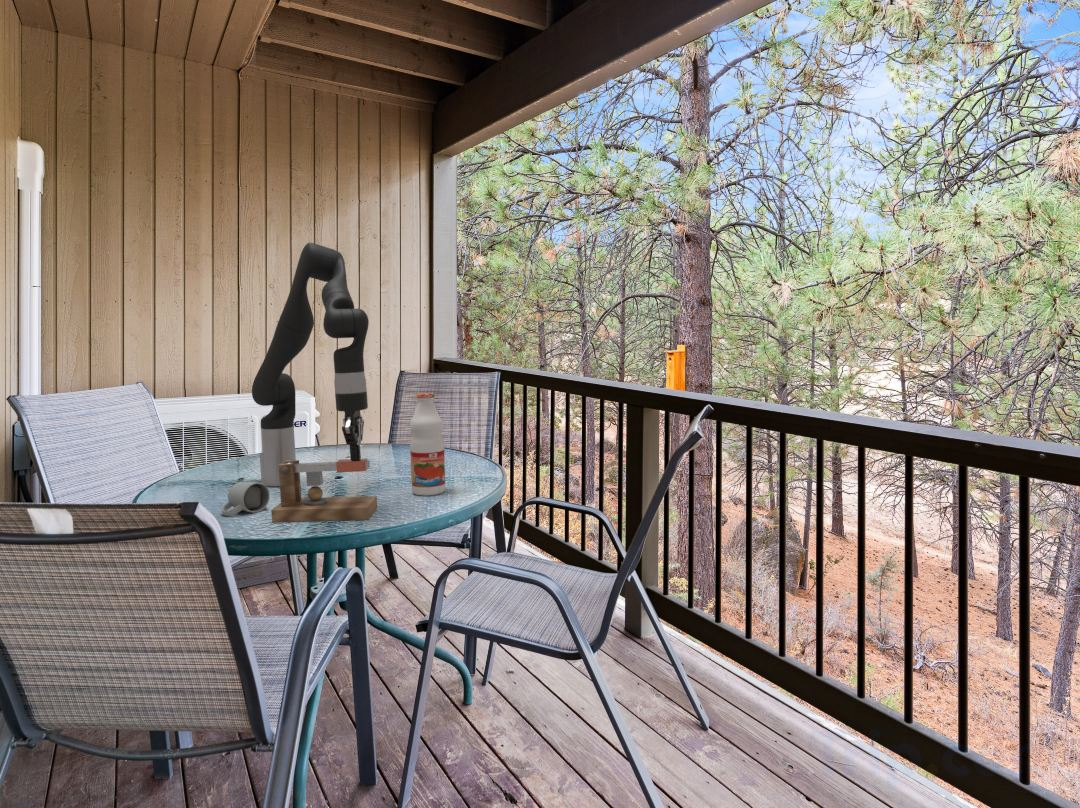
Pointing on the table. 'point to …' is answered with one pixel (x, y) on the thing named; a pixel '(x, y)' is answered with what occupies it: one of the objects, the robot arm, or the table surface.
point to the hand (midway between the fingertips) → (355, 460)
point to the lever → (329, 469)
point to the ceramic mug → (246, 498)
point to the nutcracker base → (316, 502)
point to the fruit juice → (427, 448)
